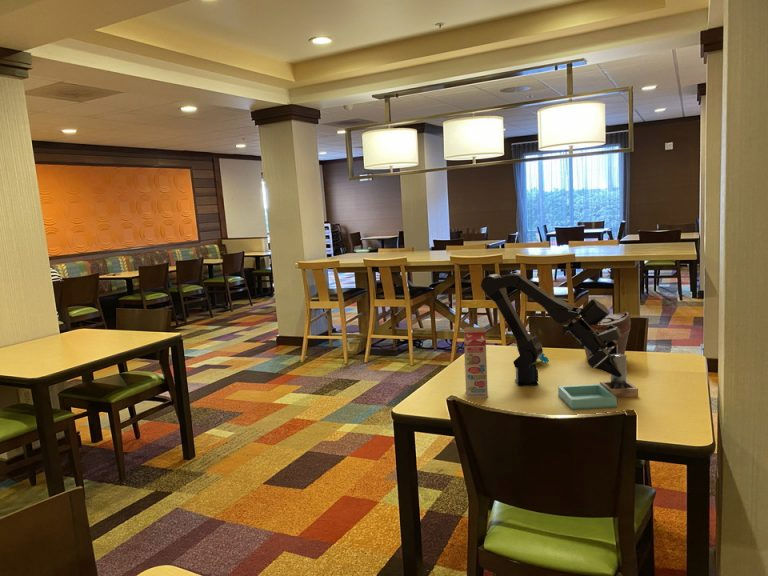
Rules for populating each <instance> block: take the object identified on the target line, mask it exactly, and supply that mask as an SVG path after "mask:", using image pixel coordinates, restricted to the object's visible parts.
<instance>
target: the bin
mask: <svg viewBox="0 0 768 576" xmlns="http://www.w3.org/2000/svg"><path fill="white" fill-rule="evenodd" d="M557 389H558V390H557V391H558V397H559V398H560V399H561V401H563V402H564V403H565V405H566V406H568V408H570V410H571V411H577V410H578V411H579V410H580V411H581V410H596V409H612V408H613V409H615V408H617V407H618V406H617V404H618V403H617V402H618V401H617V399H618V398H617V397H615V396H614V395H613V394H612V393H610V392H609V391H608V390H607V389H606V388H604V387H603V386H602V385H601V384H600V383H598V384H597V383H595V384H579V385H578V384H577V385H561V386H557Z"/></svg>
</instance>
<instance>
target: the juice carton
mask: <svg viewBox="0 0 768 576" xmlns="http://www.w3.org/2000/svg"><path fill="white" fill-rule="evenodd" d="M463 333H464V334H463V338H464V339H463V347H464V348H463V351H464V369H465V370H464V375H465V398H466V399H488V393H489V392H488V369H487V368H488V365H487V364H488V363H487V362H488V361H487V335H486V327H485V326H484V327H483V326H482V327H481V326H479V327H477V326H476V327H475V326H473V327H472V326H471V327H464V328H463Z"/></svg>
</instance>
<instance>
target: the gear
mask: <svg viewBox="0 0 768 576" xmlns="http://www.w3.org/2000/svg"><path fill="white" fill-rule="evenodd" d="M538 360H539V361H542V362H544V363H549V362H550V360H549V358H548V357H547V356H545V354H544V353H542V355H541V357H540V358H539V359H538Z"/></svg>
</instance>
